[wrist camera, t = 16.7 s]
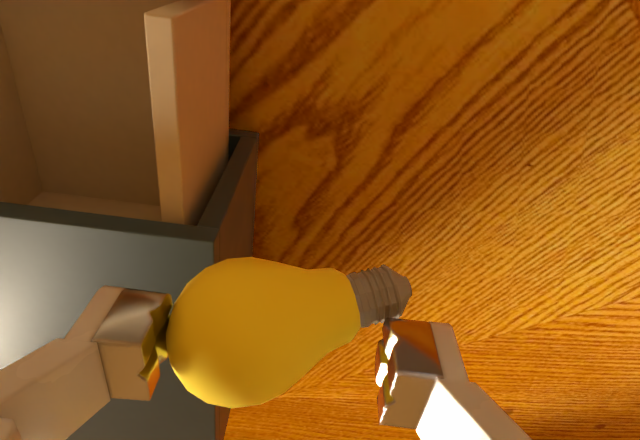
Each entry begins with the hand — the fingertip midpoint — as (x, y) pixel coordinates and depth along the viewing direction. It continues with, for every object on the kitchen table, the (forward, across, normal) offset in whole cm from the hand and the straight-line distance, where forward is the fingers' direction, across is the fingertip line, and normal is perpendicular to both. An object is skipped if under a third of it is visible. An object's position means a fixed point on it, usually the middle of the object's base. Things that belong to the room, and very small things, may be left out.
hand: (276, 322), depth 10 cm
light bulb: (+2, 0, 0) cm, 2 cm away
